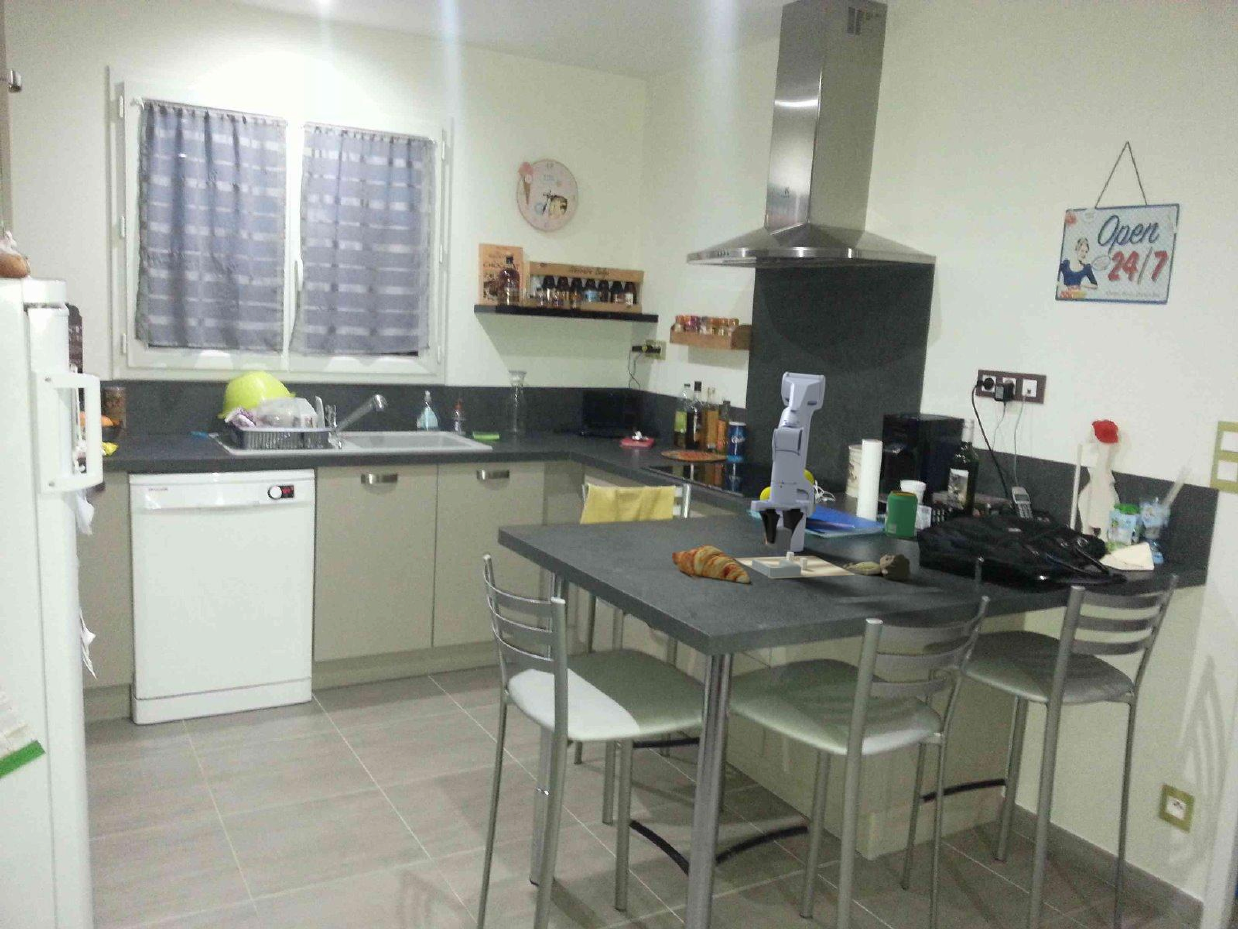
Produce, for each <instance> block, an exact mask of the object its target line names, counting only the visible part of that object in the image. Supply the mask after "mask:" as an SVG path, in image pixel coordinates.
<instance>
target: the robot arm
mask: <svg viewBox="0 0 1238 929" xmlns="http://www.w3.org/2000/svg"><path fill="white" fill-rule="evenodd" d="M825 391H826V377H825V375H824V374H820V375H818V374H807V373H794V372H789V371H786V372H785V373H784V374H783V376H782V382H781V391H780V392H781V394H780V395H781V397H782V402H783V405H784V406H786V407H785V408H784V409H783V411H782V412H781V416H780V420H779V423H778V427H777V428H774V431H773V435H772V442H771V444H772V445H771V447H772V458H771V459H772V461H773V462H772V469H771V470H772V471H771V478H770V480H771V482H770V487H771V488H770V499H768V500H760V499H759V500H751V504H750V505H751V506H750V510H751V511H754V512H759V515H760V518H761V520H762V523H763V527H764V531H765V532H764V533H766V539H767V542H769V543H771V544H774V542H775V536H776V528H777V526H783V527H785V528H788V529H790V530H792V536H791V546H790V550H785V551H784V552H793V553H794V552H795V553H797V552H798V553H799V552H801V551H803V550H804V544H805V542H804V541H805V533H806V523H807V519H808V518H807V517H809V518H810V517H812V515H813V514H812V511H813V505H814V494H815V487H814V485H813V484H812V483H811V482H810V481H808V480H807V479H806V478H805V476H804V475H805V470H806V466H807V456H808V447H809V439H810V438H809V437H810V429H811V428H810V427H811V421H812V420H811V418H812V416H813V414H814V411H816V410H820V409H822V407H823V404H824V398H825ZM797 489H803V490H806V491H800V490H797ZM806 518H807V519H806ZM766 539H765V540H766Z"/></svg>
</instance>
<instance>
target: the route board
mask: <svg viewBox="0 0 1238 929" xmlns="http://www.w3.org/2000/svg"><path fill="white" fill-rule="evenodd" d="M733 558H734V557H733ZM779 558H784V559H786V556H769V557H768V556H767V557H766V556H765V557H761V556H760V557H738V558H737V557H736V558H734V559H736V562H738V563H741V564H743V565H745V566H747V567H748V568H750V569H752V570H754V571H757V570H755V569H753V568H752V560H753V559H757V560H759V561H761V562H763V563H765V564H767V565H769V566H771V567H779ZM800 558H806V559H808V561H807V570H802V569H801V576H783V577H769V579H788V578H789V579H790V578H791V579H792V578H793V579H795V578H812V577H813V578H814V577H815V578H817V577H836V576H837V577H838V576H840V577H841V576H857V575H856V574H855V573H853V572H851V571H849V570H848V569H845V568H842V567H840V566H837V565H835V564H833V563H831V562H828V561H826V560H824V559H821V558H819V557H817V556H815V555H799V556H797V555H796V556H795V555H794V559H793V563H794V564H796V565H799V566H800ZM757 572H758V571H757Z"/></svg>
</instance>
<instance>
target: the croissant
mask: <svg viewBox="0 0 1238 929" xmlns="http://www.w3.org/2000/svg"><path fill="white" fill-rule="evenodd" d="M671 558H672V561H673V562H674V564H676V565H677V568H678V569H679V570H680V571H681V572H683V573H685V572H686V574H687V575H689V576H691V575H692V576H691V577H693V576H695V578H697V579H700V578H701V577H705V578H713V579H720V580H723V581H730V582H735V583H736V582H737V583H741V584H748V583H749V582H750V580H751V579H750V577H749V573H748V572H747V571H746V569H745V568H743V567H742V566H740V564H739V562H738V561H737V560H736V559H734V557H729V556H727V555H726V554H725V553H724V552H723V551H722V550H720V549H719V548H717V547H715V546H712V545H708V544H704V545H702V546H700V547H699V548H693V549H691V550H689V551H684V550H682V551H680V552H672V554H671ZM700 576H701V577H700Z"/></svg>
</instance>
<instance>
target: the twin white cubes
mask: <svg viewBox="0 0 1238 929" xmlns="http://www.w3.org/2000/svg"><path fill="white" fill-rule="evenodd" d="M794 556H795V553H794V552H791V551H786V556H785V557H786V560H788V561H790V562H792V563H793V559H794ZM807 561H808V559H806V558H800V566H801V569H802V570H807Z"/></svg>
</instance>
